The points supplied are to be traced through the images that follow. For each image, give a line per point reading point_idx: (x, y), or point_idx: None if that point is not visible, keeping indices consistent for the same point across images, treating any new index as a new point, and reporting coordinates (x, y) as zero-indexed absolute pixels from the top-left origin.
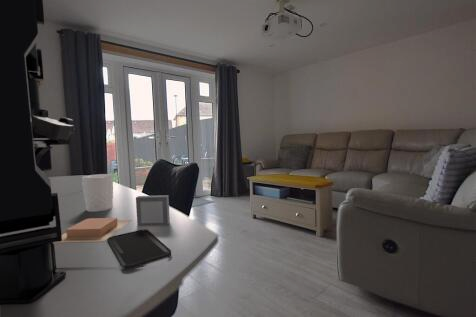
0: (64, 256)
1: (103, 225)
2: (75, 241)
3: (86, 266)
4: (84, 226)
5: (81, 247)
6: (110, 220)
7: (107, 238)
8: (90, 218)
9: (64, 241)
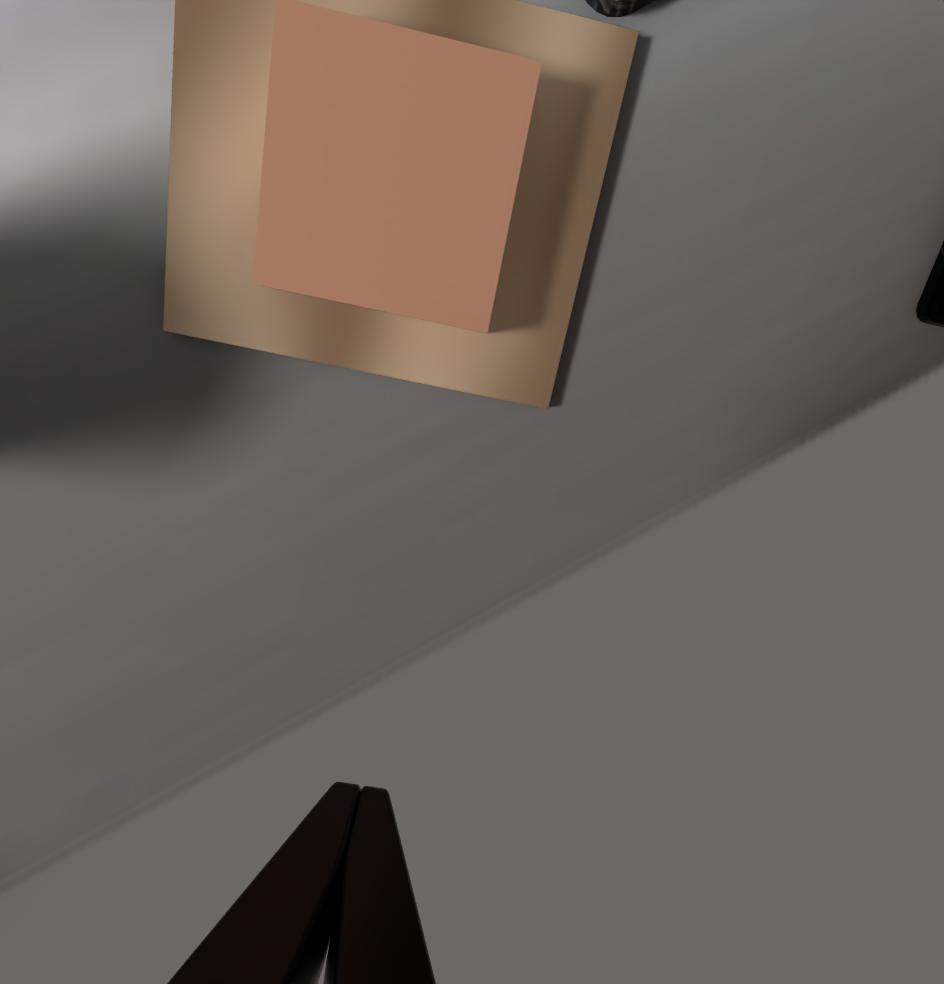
0: (747, 228)
1: (468, 61)
2: (576, 242)
3: (934, 33)
4: (453, 221)
5: (648, 179)
6: (342, 41)
7: (588, 20)
8: (255, 254)
9: (556, 314)
